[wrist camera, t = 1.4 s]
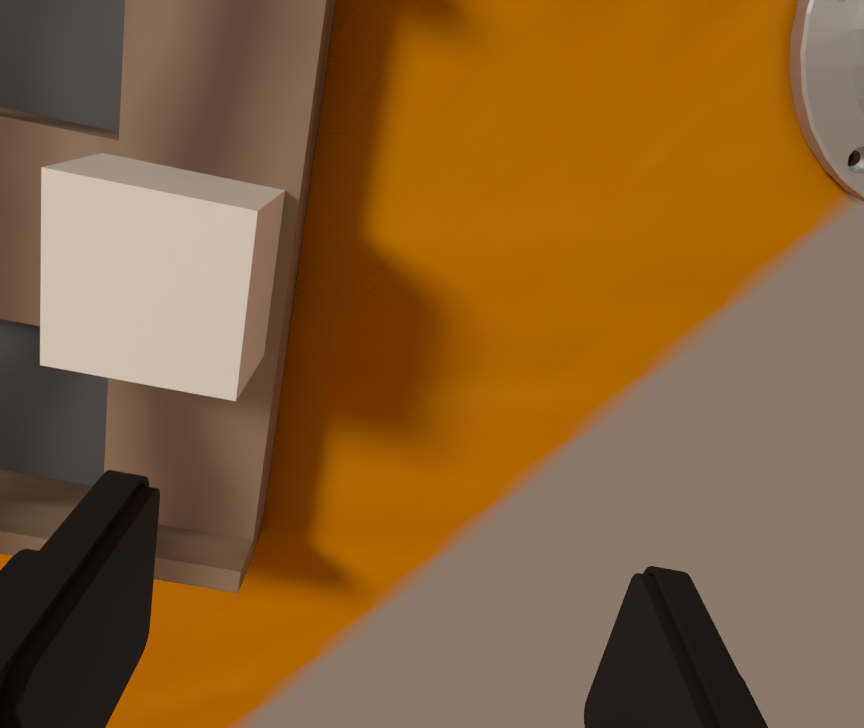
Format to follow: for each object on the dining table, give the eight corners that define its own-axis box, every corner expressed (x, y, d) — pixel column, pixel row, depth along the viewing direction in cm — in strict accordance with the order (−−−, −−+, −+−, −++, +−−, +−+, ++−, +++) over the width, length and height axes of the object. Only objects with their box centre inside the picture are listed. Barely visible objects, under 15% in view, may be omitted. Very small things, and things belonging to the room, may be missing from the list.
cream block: (285, 190, 24) (258, 210, 21) (263, 355, 27) (235, 401, 23) (102, 152, 24) (41, 166, 20) (96, 323, 26) (39, 365, 22)
